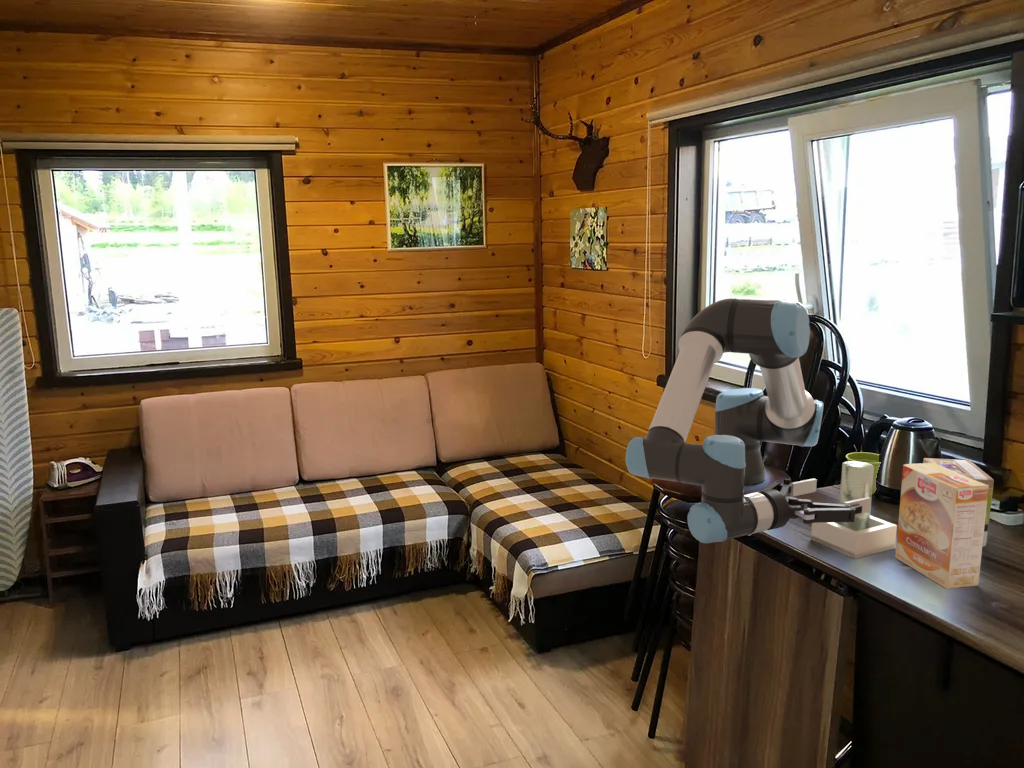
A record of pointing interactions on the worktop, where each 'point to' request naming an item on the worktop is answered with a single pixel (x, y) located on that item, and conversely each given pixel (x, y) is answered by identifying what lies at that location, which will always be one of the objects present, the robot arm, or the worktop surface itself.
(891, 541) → the well
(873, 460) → the plant pot
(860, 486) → the canister
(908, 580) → the worktop surface
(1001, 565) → the worktop surface
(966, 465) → the tea box
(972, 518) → the coffeecake box
